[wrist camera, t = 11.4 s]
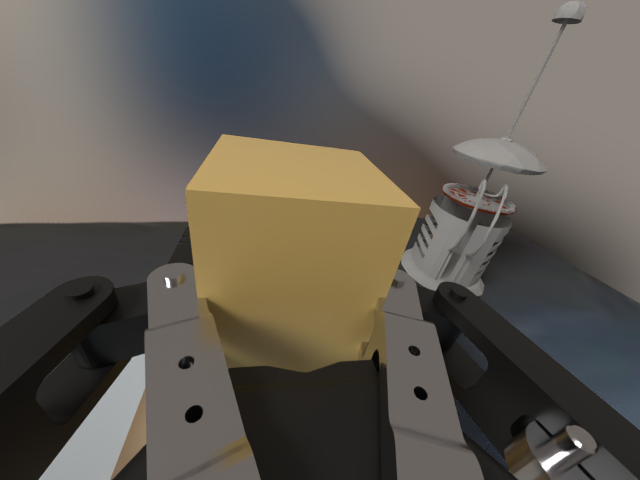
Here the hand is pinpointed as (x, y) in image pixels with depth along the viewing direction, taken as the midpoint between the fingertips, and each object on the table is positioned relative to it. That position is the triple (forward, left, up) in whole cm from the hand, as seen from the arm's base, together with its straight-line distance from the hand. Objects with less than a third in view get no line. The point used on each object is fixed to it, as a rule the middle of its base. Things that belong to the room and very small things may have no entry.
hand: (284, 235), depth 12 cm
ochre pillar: (0, -3, -6) cm, 7 cm away
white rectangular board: (0, -11, -11) cm, 16 cm away
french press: (+20, +11, -12) cm, 26 cm away
